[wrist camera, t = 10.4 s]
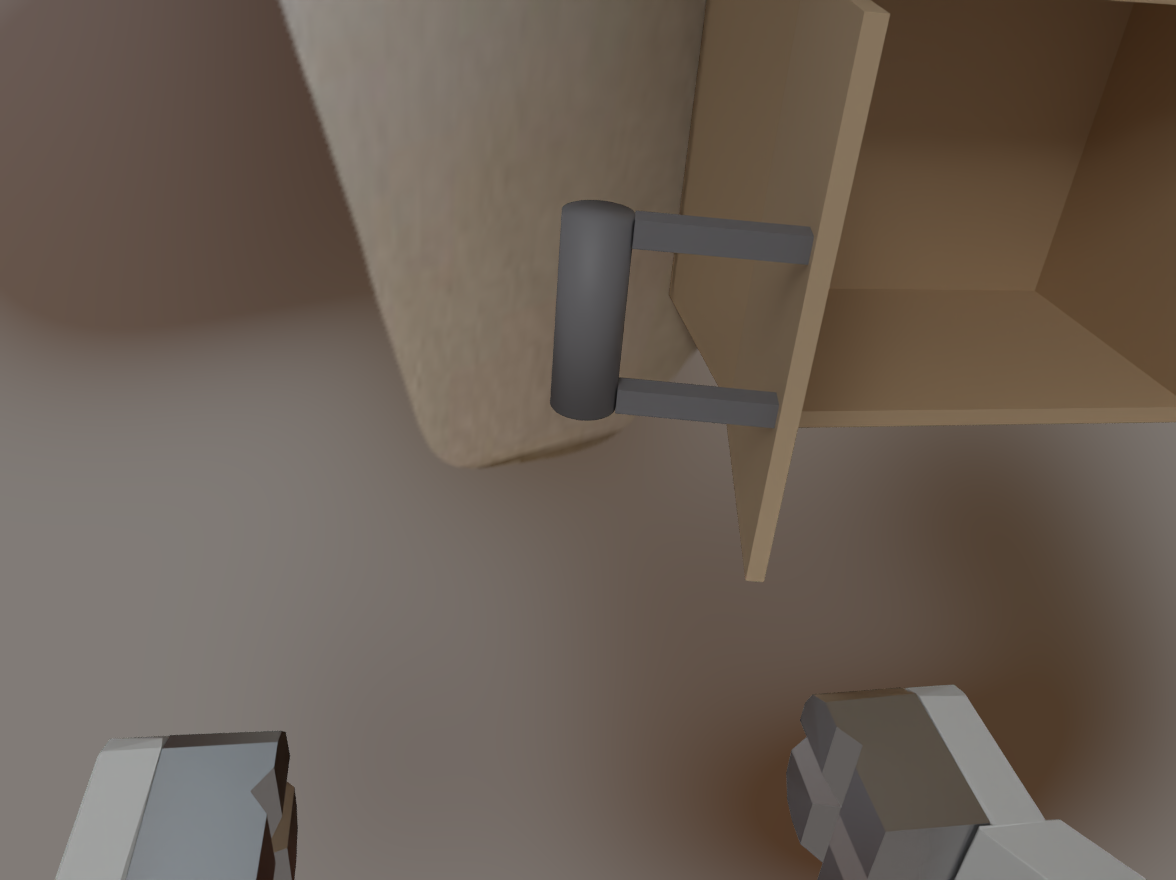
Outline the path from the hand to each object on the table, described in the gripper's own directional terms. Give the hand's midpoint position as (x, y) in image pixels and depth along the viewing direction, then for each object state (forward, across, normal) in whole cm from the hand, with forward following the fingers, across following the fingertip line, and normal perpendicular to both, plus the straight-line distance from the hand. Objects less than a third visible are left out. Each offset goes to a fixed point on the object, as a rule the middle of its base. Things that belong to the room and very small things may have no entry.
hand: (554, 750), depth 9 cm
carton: (+41, -23, +4) cm, 47 cm away
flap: (+21, -11, +4) cm, 24 cm away
